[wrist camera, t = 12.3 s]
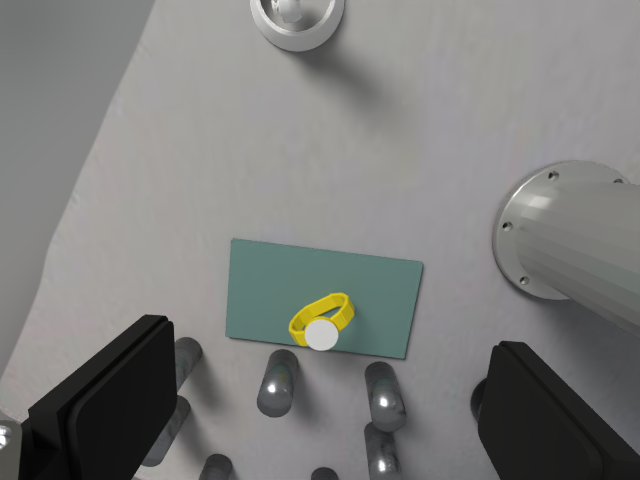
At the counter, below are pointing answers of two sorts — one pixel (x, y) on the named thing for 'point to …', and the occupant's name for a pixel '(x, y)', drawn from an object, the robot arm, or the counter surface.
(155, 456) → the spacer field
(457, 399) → the counter surface
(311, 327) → the watch
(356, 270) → the mat
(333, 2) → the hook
